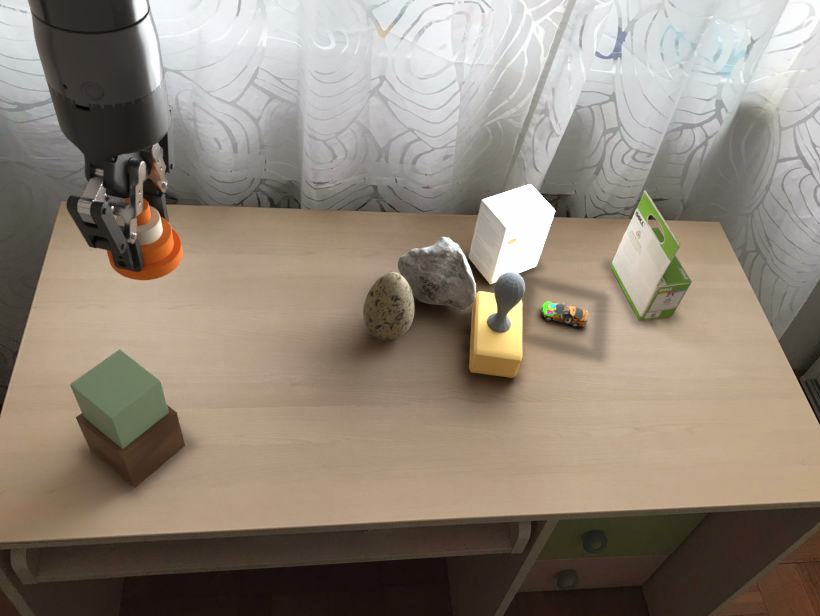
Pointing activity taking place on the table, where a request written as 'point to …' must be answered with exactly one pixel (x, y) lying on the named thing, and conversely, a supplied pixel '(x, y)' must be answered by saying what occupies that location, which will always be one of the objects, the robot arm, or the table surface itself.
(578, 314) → the toy car
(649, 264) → the ink box
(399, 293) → the decorative egg
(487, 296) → the rubber stamp
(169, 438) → the walnut block
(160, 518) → the table surface
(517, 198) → the small box
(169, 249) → the cone
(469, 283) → the stone
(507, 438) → the table surface
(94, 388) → the sage block
